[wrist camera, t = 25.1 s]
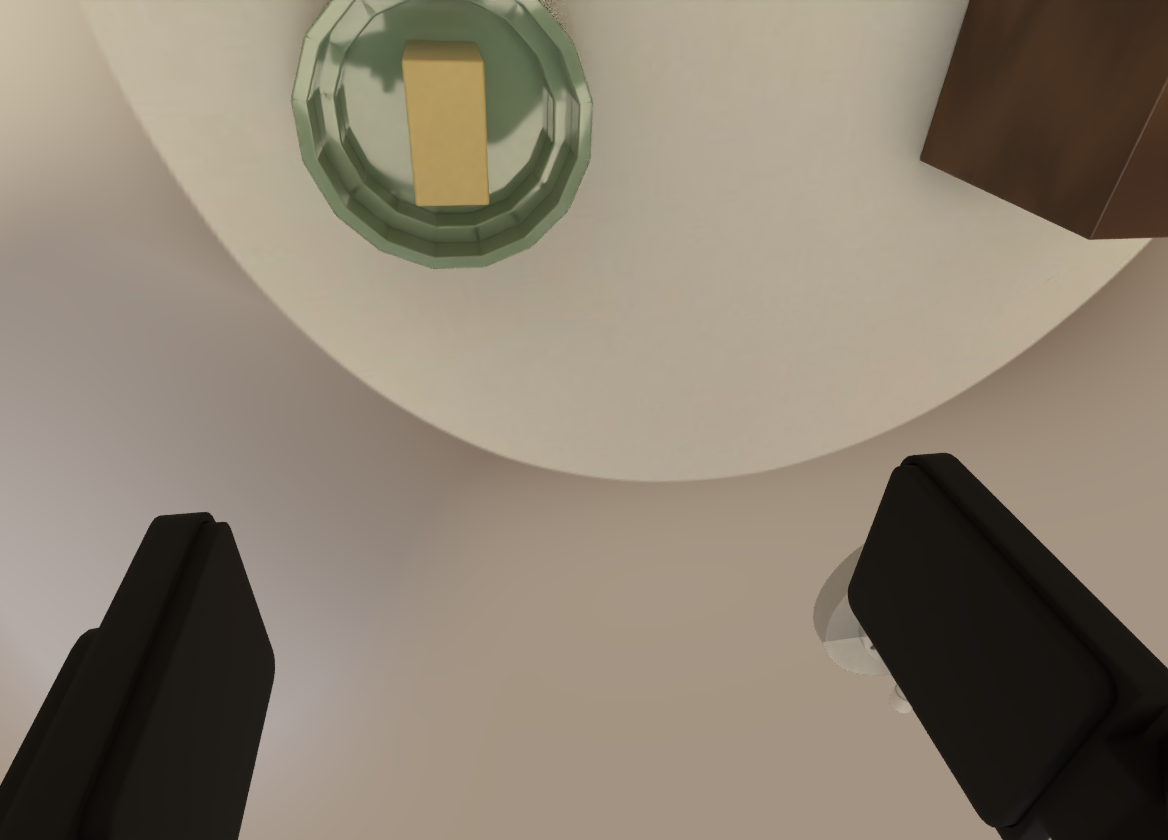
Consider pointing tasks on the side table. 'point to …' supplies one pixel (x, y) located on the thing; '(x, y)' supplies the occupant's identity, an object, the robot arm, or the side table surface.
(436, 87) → the butter slice
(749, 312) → the side table surface
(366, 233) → the dish
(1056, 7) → the chopping block
